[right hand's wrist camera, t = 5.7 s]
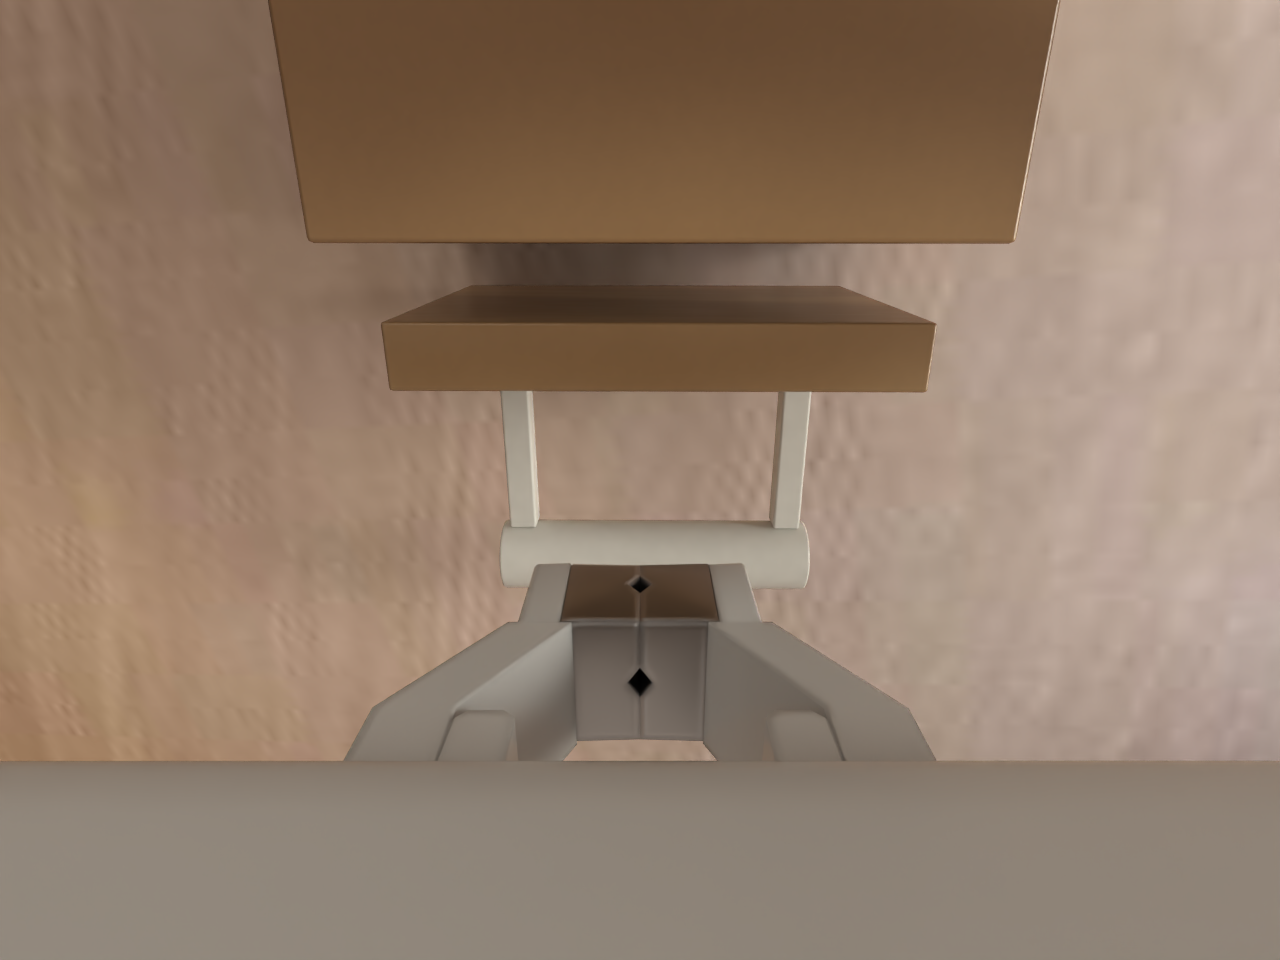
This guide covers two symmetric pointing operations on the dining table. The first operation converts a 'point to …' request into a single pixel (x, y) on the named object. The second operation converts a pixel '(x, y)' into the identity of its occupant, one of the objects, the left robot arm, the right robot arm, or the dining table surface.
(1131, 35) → the dining table surface
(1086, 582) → the dining table surface
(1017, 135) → the cabinet
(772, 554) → the drawer
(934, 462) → the dining table surface
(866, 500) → the dining table surface
